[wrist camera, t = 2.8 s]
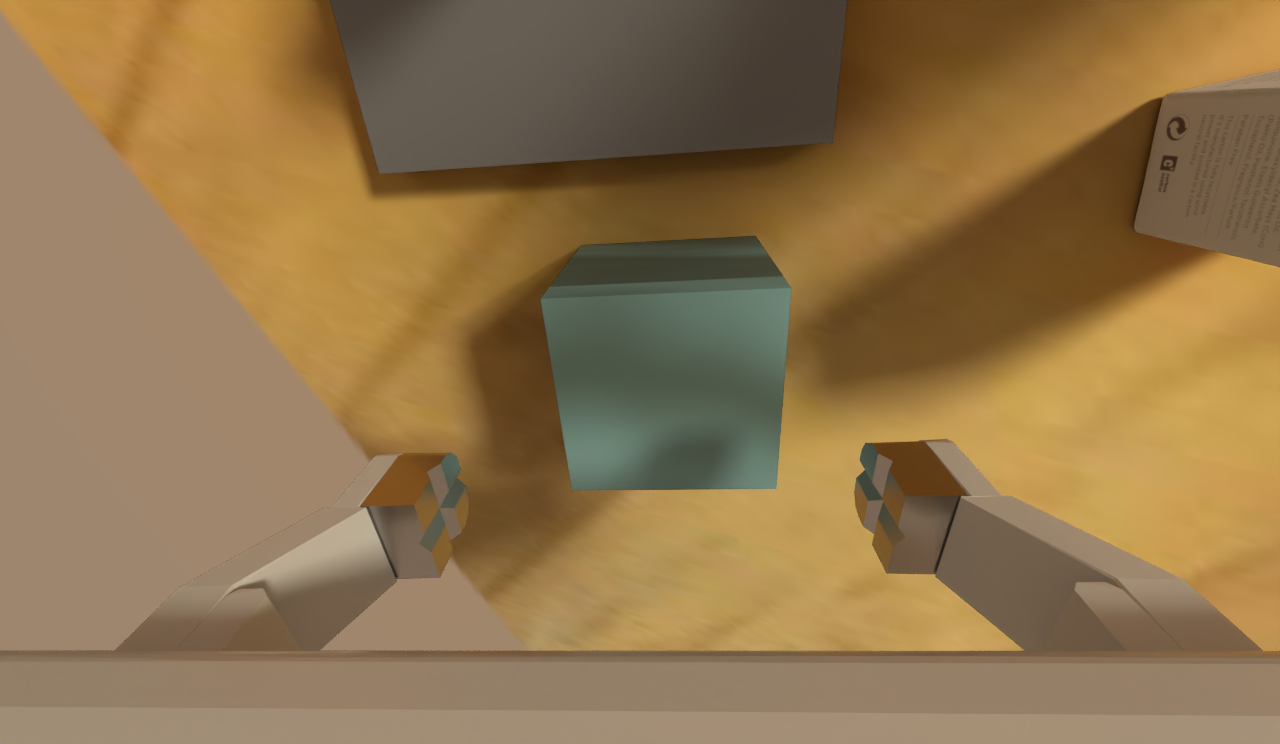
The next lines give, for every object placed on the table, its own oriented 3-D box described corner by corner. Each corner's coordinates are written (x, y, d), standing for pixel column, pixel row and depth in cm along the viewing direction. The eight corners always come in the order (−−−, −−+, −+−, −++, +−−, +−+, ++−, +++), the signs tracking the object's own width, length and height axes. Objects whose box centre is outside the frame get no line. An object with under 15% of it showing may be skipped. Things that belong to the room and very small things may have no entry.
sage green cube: (749, 390, 20) (776, 488, 15) (599, 394, 21) (571, 490, 15) (755, 236, 17) (791, 287, 12) (581, 245, 18) (540, 298, 12)
